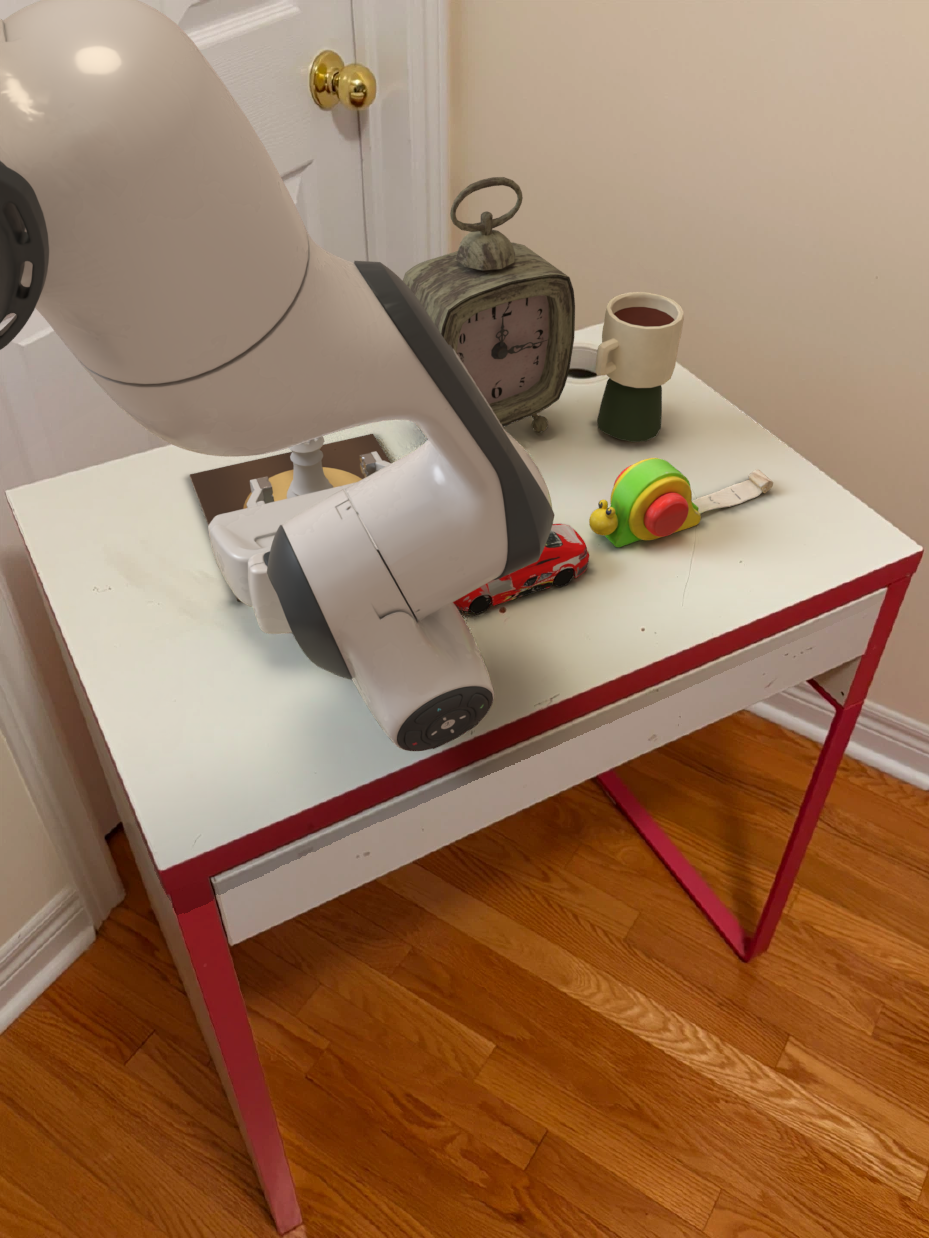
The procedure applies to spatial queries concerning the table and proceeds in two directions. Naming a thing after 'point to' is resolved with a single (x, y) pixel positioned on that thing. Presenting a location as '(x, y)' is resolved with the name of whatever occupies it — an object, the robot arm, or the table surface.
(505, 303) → the tabletop clock
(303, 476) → the rook chess piece
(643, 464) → the toy measuring tape
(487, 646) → the table surface
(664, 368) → the cream coffee mug
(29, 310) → the robot arm
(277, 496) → the brown flat square panel
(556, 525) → the race car
